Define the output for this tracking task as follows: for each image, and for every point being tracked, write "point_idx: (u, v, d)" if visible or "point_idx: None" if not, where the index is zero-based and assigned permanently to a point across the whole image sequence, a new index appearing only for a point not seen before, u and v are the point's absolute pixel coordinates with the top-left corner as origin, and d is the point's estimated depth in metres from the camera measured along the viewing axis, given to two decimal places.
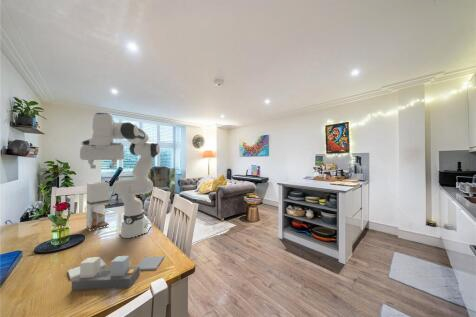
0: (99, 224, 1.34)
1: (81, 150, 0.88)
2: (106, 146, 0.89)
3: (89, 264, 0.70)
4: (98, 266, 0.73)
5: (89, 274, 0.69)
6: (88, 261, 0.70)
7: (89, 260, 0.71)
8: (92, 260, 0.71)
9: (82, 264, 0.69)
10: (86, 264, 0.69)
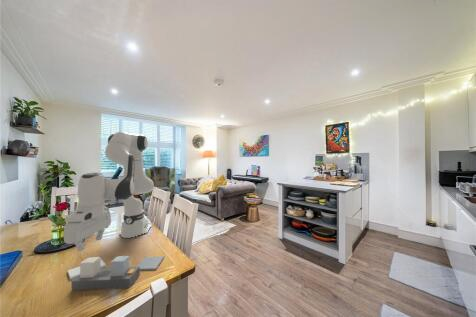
0: None
1: (78, 229, 0.63)
2: (100, 214, 0.75)
3: (89, 264, 0.70)
4: (98, 266, 0.73)
5: (89, 274, 0.69)
6: (88, 261, 0.70)
7: (89, 260, 0.71)
8: (92, 260, 0.71)
9: (82, 264, 0.69)
10: (86, 264, 0.69)
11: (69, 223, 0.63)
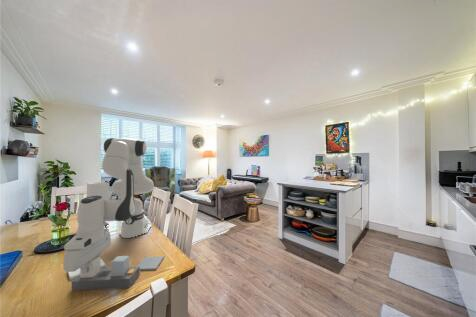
0: None
1: (78, 257, 0.63)
2: None
3: (89, 263, 0.70)
4: (98, 266, 0.73)
5: (89, 274, 0.69)
6: None
7: None
8: (92, 260, 0.71)
9: None
10: None
11: (69, 251, 0.63)
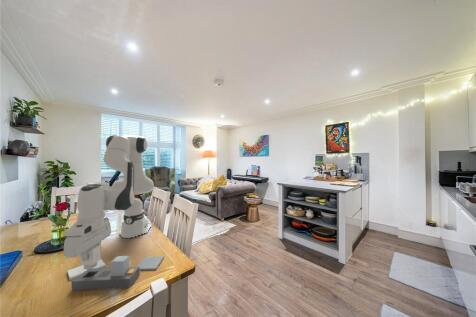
0: None
1: (78, 243, 0.63)
2: None
3: (89, 251, 0.70)
4: (98, 254, 0.73)
5: (89, 261, 0.70)
6: (88, 249, 0.70)
7: (89, 248, 0.71)
8: (92, 248, 0.71)
9: None
10: None
11: (69, 237, 0.63)
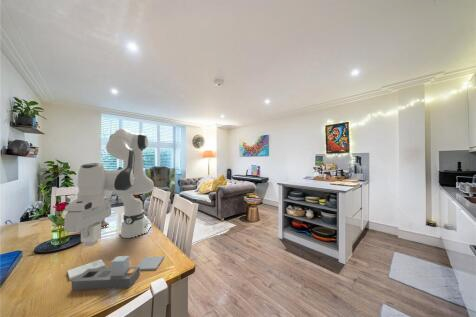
0: None
1: (78, 218, 0.63)
2: (101, 204, 0.75)
3: (90, 228, 0.70)
4: (99, 232, 0.73)
5: (90, 239, 0.70)
6: (89, 226, 0.71)
7: None
8: (93, 226, 0.71)
9: None
10: (87, 229, 0.70)
11: (69, 212, 0.64)
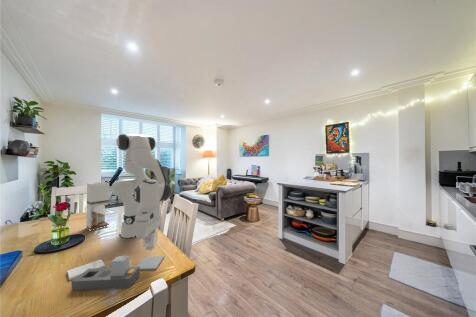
0: (99, 224, 1.34)
1: (146, 227, 0.76)
2: None
3: (150, 235, 0.83)
4: (156, 238, 0.86)
5: (150, 243, 0.83)
6: None
7: None
8: (152, 232, 0.84)
9: None
10: None
11: (138, 222, 0.76)
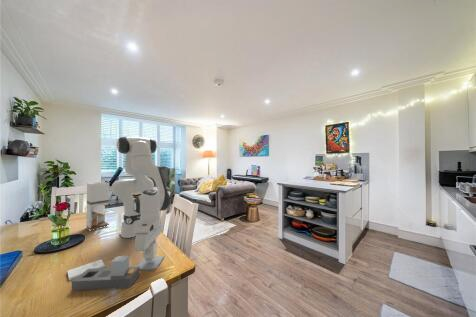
0: (99, 224, 1.34)
1: (146, 239, 0.76)
2: None
3: (150, 246, 0.83)
4: (156, 249, 0.86)
5: (150, 255, 0.83)
6: None
7: None
8: (151, 243, 0.84)
9: None
10: None
11: (138, 234, 0.76)
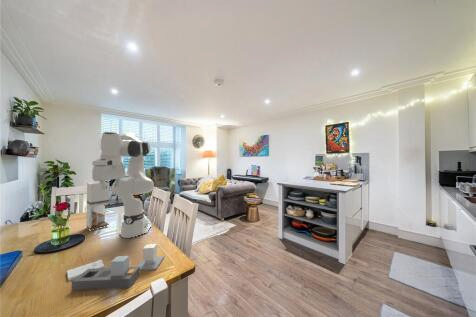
0: (99, 224, 1.34)
1: (103, 170, 0.81)
2: (118, 166, 0.93)
3: (150, 249, 0.83)
4: (155, 251, 0.86)
5: (150, 257, 0.83)
6: (149, 247, 0.83)
7: (149, 246, 0.84)
8: (151, 246, 0.84)
9: (144, 249, 0.83)
10: (147, 249, 0.83)
11: (96, 166, 0.82)
